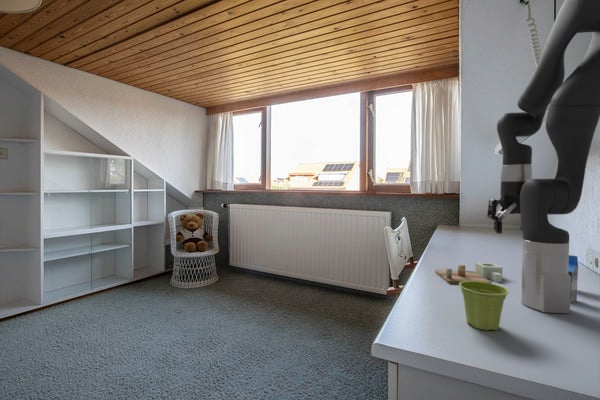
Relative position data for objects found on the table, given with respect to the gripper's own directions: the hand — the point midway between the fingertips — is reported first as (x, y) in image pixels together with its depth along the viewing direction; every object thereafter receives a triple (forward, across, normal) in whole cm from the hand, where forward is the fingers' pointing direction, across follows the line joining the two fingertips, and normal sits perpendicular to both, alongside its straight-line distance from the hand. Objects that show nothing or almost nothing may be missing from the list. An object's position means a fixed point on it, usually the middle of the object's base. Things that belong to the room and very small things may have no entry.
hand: (513, 233), depth 89 cm
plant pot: (+16, -21, -27) cm, 38 cm away
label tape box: (+17, +8, -6) cm, 20 cm away
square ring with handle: (+18, 0, +11) cm, 21 cm away
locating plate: (+18, -11, +9) cm, 23 cm away
